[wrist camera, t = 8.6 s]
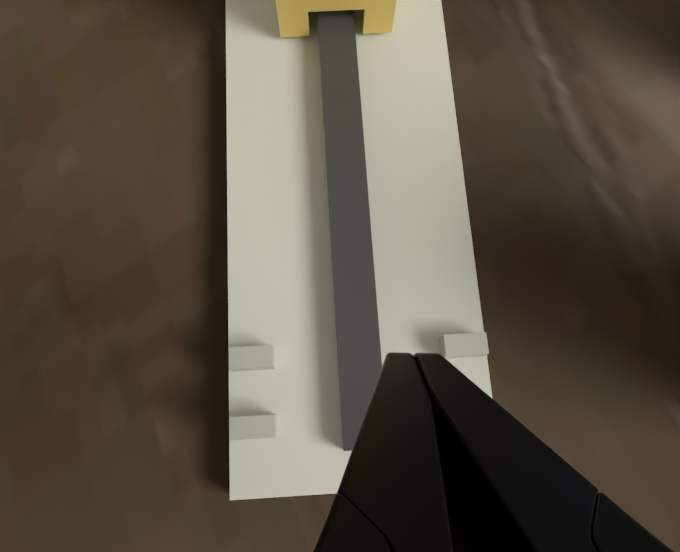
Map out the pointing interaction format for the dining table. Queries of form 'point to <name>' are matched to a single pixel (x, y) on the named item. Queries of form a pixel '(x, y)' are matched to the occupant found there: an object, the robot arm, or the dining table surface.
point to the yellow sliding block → (296, 4)
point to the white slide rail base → (338, 233)
